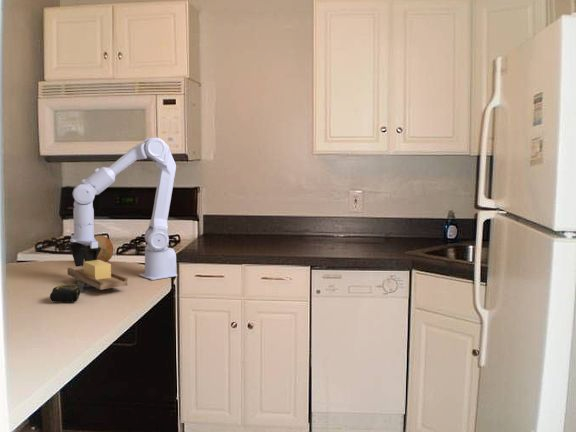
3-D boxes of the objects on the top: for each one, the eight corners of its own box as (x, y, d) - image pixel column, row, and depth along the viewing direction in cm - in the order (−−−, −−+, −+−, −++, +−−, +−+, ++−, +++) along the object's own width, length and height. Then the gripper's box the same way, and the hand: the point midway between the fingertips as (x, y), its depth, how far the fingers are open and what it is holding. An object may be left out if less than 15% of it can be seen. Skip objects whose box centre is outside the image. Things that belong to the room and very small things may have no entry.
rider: (99, 272, 160) (99, 259, 160) (111, 277, 155) (110, 264, 154) (83, 275, 157) (83, 261, 156) (95, 279, 151) (94, 266, 151)
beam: (93, 272, 167) (92, 264, 167) (127, 287, 152) (127, 278, 151) (67, 276, 161) (67, 268, 161) (100, 291, 146) (100, 282, 146)
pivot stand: (109, 280, 164) (109, 274, 164) (122, 285, 158) (122, 279, 158) (70, 286, 155) (70, 280, 155) (82, 292, 150) (82, 285, 149)
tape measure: (49, 305, 138) (48, 291, 137) (56, 297, 145) (55, 284, 144) (76, 304, 139) (76, 290, 138) (82, 297, 146) (82, 284, 145)
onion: (96, 268, 179) (95, 239, 178) (78, 264, 185) (77, 235, 184) (119, 263, 187) (119, 235, 186) (101, 259, 193) (101, 232, 192)
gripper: (60, 222, 162) (61, 265, 164) (81, 228, 152) (81, 274, 154) (83, 220, 167) (84, 262, 169) (104, 226, 157) (105, 271, 159)
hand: (84, 268), depth 162 cm, fingers open, 7 cm apart
